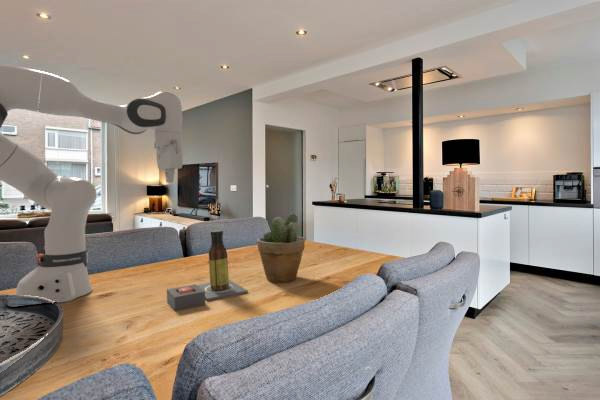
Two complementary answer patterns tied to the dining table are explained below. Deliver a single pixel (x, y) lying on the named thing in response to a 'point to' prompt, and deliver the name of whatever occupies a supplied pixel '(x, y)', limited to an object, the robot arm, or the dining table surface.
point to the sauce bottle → (218, 262)
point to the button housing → (185, 298)
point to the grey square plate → (222, 291)
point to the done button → (185, 290)
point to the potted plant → (281, 250)
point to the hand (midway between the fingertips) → (169, 182)
